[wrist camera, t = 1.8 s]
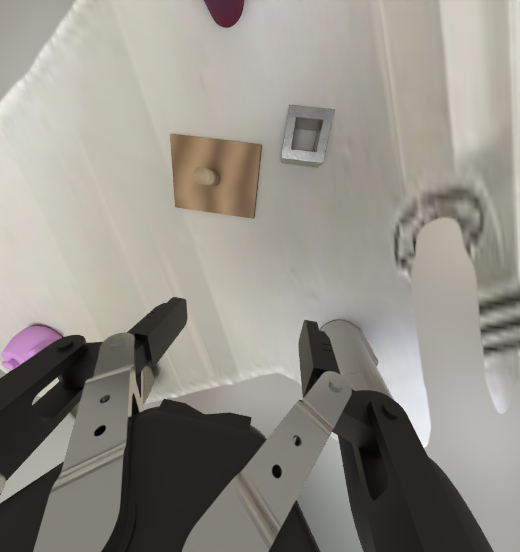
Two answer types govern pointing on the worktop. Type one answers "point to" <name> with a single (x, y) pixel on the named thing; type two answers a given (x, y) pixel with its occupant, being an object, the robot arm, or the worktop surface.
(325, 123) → the collar
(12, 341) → the teapot
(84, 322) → the worktop surface
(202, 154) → the post board
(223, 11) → the cup
